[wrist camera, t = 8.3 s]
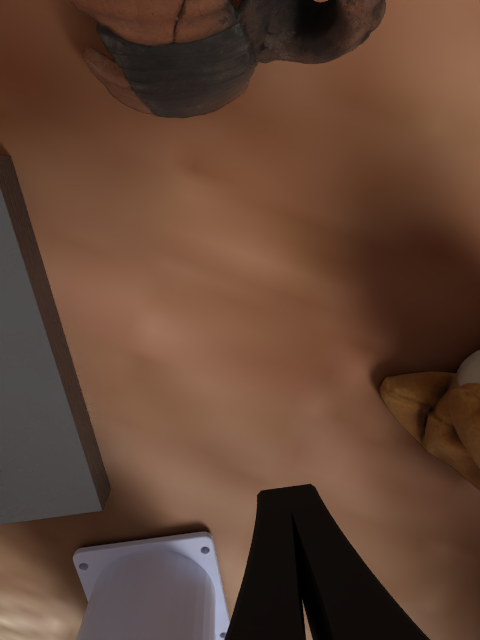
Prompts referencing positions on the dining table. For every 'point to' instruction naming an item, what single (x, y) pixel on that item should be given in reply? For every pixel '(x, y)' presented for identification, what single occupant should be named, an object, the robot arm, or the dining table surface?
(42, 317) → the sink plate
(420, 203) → the dining table surface
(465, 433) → the stuffed squirrel
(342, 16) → the pottery mug
